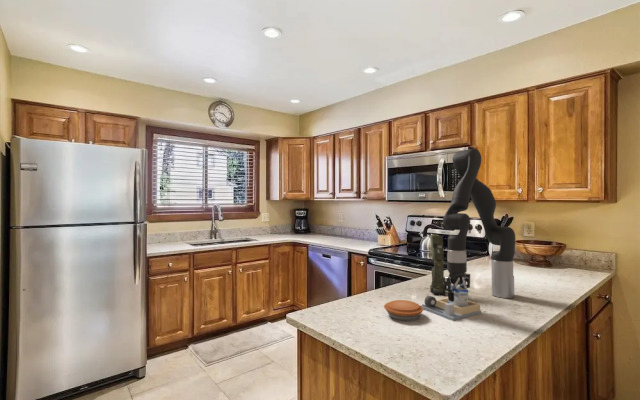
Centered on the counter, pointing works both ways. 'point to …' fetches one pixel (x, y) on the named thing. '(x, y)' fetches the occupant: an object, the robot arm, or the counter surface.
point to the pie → (403, 310)
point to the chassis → (453, 309)
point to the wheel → (430, 301)
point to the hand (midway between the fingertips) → (457, 299)
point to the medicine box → (460, 297)
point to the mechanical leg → (437, 266)
